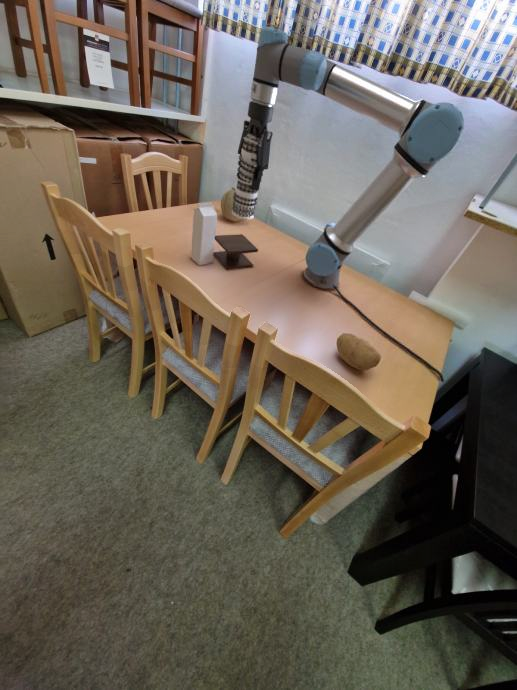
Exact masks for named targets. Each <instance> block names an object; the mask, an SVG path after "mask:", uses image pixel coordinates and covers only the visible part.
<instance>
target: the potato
mask: <svg viewBox="0 0 517 690" xmlns="http://www.w3.org/2000/svg"><path fill="white" fill-rule="evenodd" d="M336 350H337V353H338V356H339V357H340V358H341V359H342V360H343V361H344V362H345V363H346V364H348V365H349V366H350V367H352V368H354V369H356V370H359V371H363V372H365V371H369V370H371V369H373V368H376V367H377V366H378V365H379V363H380V362H381V359H382V355H381V354H380V352H379V351H378V350H377V349H376V348H375V347H374V346H373V345H372V344H371V343H370V342H369V341H368V340H365V339H363V338H362V337H360V336H357V335H356V334H354V333H347V332H345V333H342V334H340V335H339V337H337V338H336Z"/></svg>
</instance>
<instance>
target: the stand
mask: <svg viewBox="0 0 517 690" xmlns="http://www.w3.org/2000/svg"><path fill="white" fill-rule="evenodd" d="M214 241H215V242H216V243H217V244H218V245H219V246H220V247H221V248H222V249H223V251H213V257H215V258H216V259H217V260H218V261H219V263H220V264H221V265H222V266H223V267H224V268H225V269H226V270H227V271H228V270H229V271H230V270H237V269H239V270H240V269H246V268H253V267H254V264H253V263H252V261H250V259H249V258H248V257H247V256H246V255H245V254H250V253H251V254H253V253H258V252H259V248H257V247H256V246H255V245H254V244H253V243H252V241H250V240H249V239H248V238H247V237H246V236H245V235H243V234H241V233H240V234H239V233H238V234H219V235H215V240H214Z"/></svg>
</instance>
